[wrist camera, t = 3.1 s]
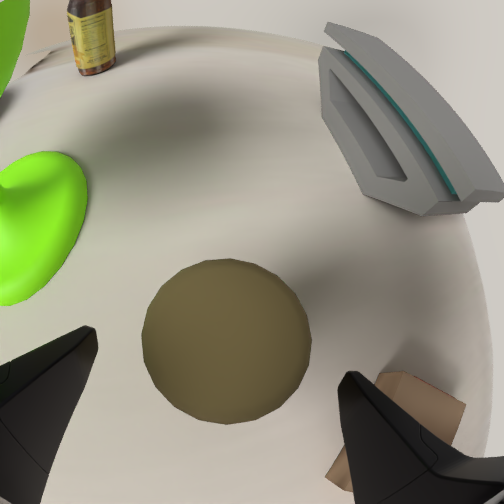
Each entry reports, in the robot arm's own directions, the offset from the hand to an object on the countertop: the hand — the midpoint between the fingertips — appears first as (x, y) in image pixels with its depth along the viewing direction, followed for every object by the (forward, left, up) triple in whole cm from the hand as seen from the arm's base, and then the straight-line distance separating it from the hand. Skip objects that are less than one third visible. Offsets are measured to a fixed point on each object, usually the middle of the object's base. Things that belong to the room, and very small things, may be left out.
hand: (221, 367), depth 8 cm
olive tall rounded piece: (+1, 0, -9) cm, 9 cm away
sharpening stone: (+27, -3, -9) cm, 28 cm away
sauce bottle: (+21, +36, -9) cm, 43 cm away
